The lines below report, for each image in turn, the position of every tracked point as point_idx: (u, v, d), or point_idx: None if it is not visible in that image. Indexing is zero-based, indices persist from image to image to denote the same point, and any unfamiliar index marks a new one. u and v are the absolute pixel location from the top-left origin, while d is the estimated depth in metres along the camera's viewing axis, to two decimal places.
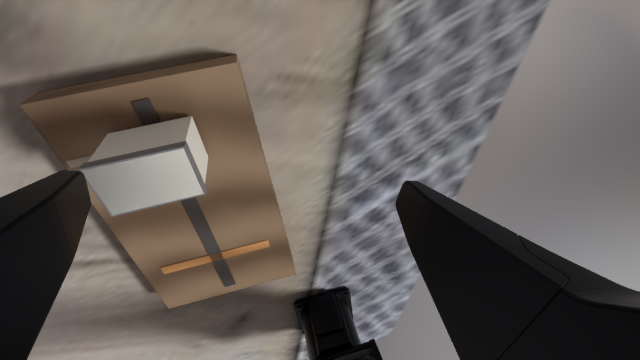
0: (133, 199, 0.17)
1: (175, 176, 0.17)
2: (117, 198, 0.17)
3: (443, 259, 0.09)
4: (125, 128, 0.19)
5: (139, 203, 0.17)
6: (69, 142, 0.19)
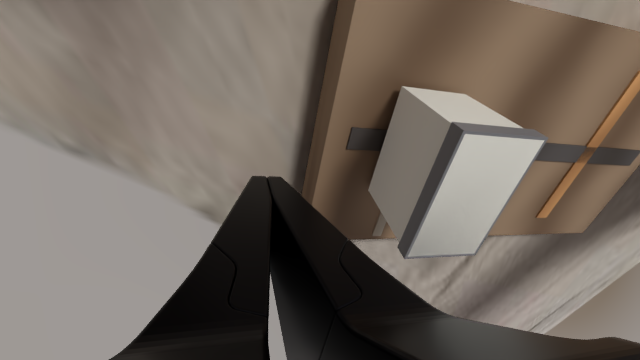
0: (476, 225, 0.12)
1: (490, 165, 0.10)
2: (461, 240, 0.12)
3: (281, 267, 0.07)
4: (371, 169, 0.15)
5: (485, 222, 0.12)
6: (357, 224, 0.17)
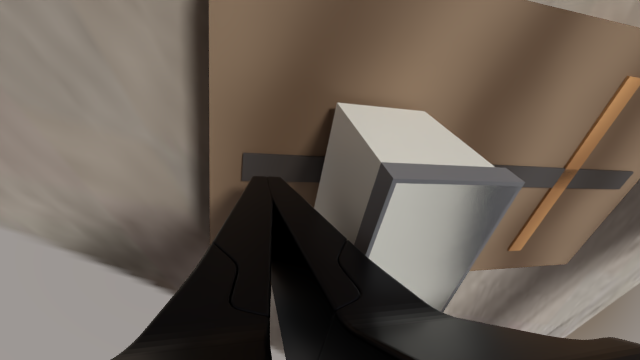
0: (432, 292, 0.09)
1: (443, 221, 0.07)
2: None
3: (280, 267, 0.07)
4: None
5: (445, 288, 0.09)
6: None
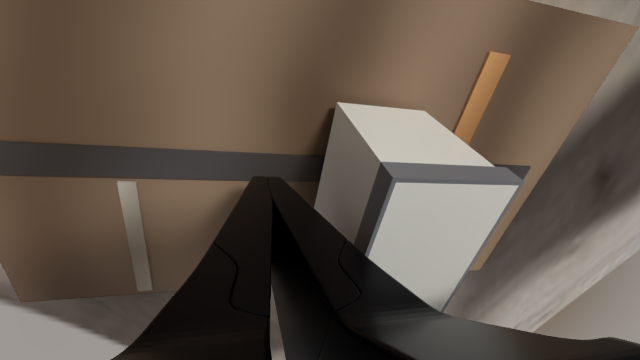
0: (431, 292, 0.09)
1: (442, 220, 0.07)
2: None
3: (280, 267, 0.07)
4: (76, 203, 0.10)
5: (444, 287, 0.09)
6: (102, 276, 0.11)
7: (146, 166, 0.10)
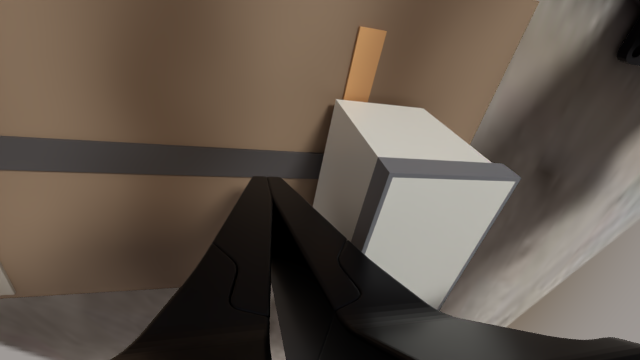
0: (429, 288, 0.09)
1: (439, 216, 0.07)
2: None
3: (280, 267, 0.07)
4: None
5: (442, 284, 0.09)
6: None
7: None
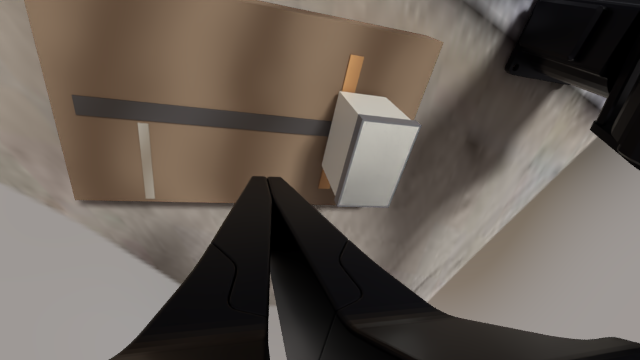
0: (384, 184, 0.17)
1: (385, 142, 0.16)
2: (376, 195, 0.18)
3: (281, 267, 0.07)
4: (114, 135, 0.17)
5: (391, 182, 0.17)
6: (124, 186, 0.19)
7: (154, 114, 0.17)
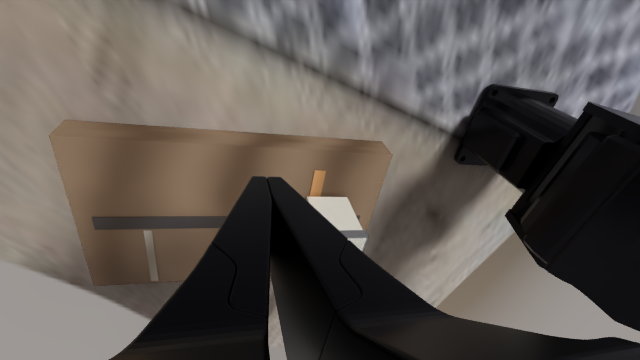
0: None
1: None
2: None
3: (281, 267, 0.07)
4: (124, 240, 0.21)
5: None
6: (133, 273, 0.23)
7: (156, 224, 0.21)
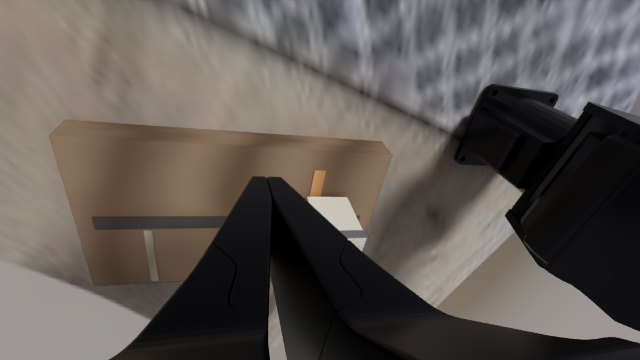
0: None
1: None
2: None
3: (281, 267, 0.07)
4: (124, 240, 0.21)
5: None
6: (133, 273, 0.23)
7: (156, 224, 0.21)
